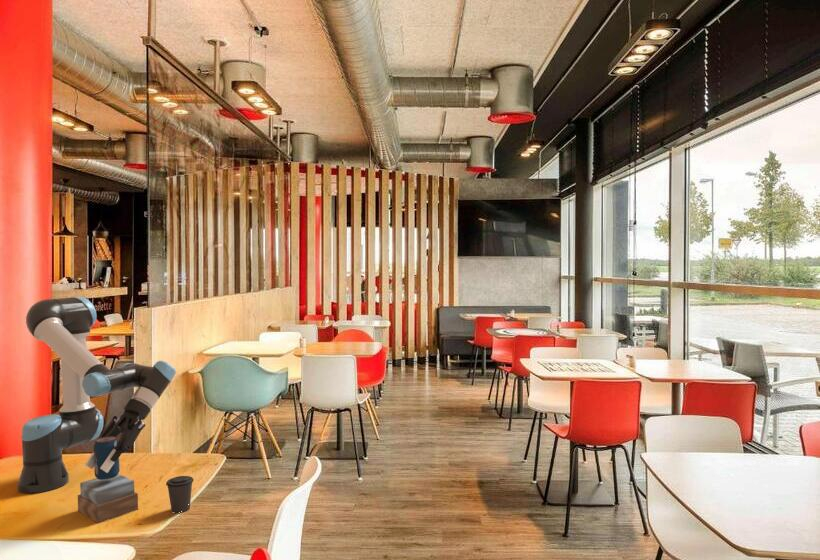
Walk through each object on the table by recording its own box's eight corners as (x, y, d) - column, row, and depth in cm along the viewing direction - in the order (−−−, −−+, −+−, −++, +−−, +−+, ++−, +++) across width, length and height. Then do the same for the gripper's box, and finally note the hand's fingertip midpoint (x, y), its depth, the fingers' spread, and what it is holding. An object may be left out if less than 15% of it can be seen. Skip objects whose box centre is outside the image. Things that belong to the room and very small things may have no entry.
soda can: (124, 473, 186) (123, 435, 186) (109, 481, 179) (108, 442, 179) (105, 472, 188) (103, 434, 187) (89, 480, 181) (88, 441, 180)
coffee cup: (185, 516, 179) (184, 483, 178) (161, 514, 180) (160, 482, 180) (199, 505, 187) (198, 474, 186) (176, 503, 188) (175, 472, 188)
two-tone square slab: (78, 511, 183) (77, 482, 183) (117, 498, 193) (116, 471, 193) (98, 523, 175) (97, 493, 174) (138, 509, 184) (137, 481, 184)
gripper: (168, 413, 192) (125, 479, 178) (129, 407, 201) (84, 469, 187) (153, 400, 187) (108, 467, 173) (114, 394, 196) (67, 457, 183)
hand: (96, 468), depth 180 cm, fingers closed on soda can, 7 cm apart
